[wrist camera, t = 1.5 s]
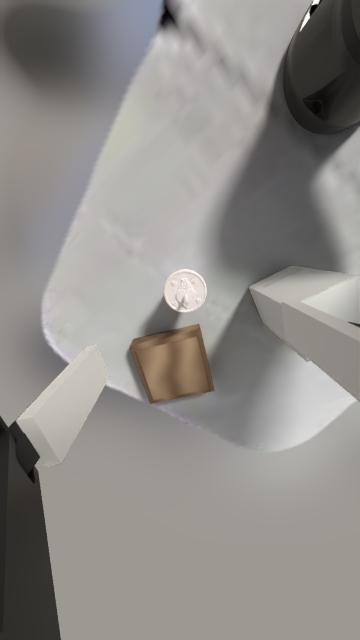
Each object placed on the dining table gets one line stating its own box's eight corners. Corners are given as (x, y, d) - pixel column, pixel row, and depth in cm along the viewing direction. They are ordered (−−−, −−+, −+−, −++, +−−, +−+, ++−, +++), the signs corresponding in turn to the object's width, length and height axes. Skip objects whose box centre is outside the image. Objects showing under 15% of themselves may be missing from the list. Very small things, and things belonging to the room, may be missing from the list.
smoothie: (169, 300, 40) (164, 326, 27) (164, 266, 38) (156, 276, 24) (202, 296, 40) (213, 320, 26) (199, 262, 37) (209, 270, 24)
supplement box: (262, 325, 42) (305, 364, 27) (247, 286, 39) (285, 307, 25) (306, 305, 40) (375, 336, 26) (293, 263, 38) (361, 273, 23)
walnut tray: (199, 323, 41) (200, 331, 38) (212, 380, 46) (214, 392, 42) (133, 338, 43) (129, 347, 39) (152, 392, 47) (150, 404, 43)
